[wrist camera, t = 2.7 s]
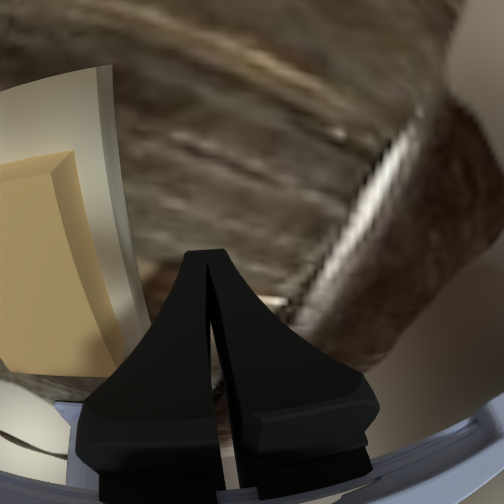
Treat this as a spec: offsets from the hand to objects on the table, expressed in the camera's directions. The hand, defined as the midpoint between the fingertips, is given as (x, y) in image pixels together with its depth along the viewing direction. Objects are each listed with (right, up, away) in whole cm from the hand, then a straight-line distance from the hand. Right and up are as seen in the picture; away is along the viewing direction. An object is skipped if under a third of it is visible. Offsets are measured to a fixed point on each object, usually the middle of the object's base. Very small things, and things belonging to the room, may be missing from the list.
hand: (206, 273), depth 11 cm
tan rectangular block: (-7, -1, -1) cm, 7 cm away
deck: (-7, +1, +1) cm, 8 cm away
